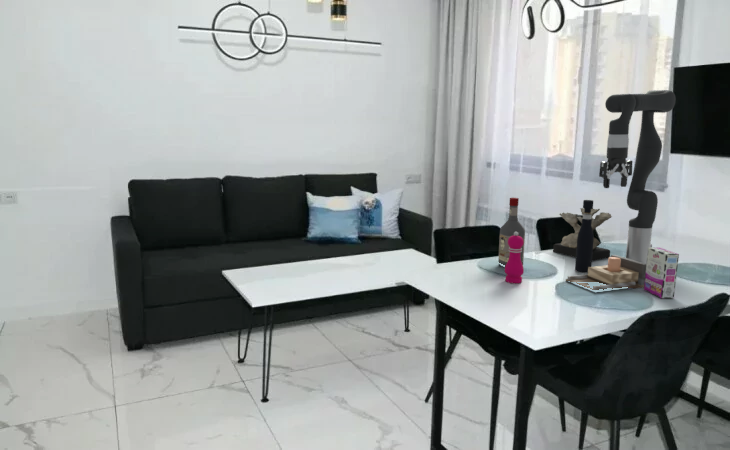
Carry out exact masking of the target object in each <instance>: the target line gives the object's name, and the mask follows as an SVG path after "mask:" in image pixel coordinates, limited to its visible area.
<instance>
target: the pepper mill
mask: <svg viewBox="0 0 730 450" xmlns="http://www.w3.org/2000/svg"><path fill="white" fill-rule="evenodd" d="M523 244H524V245H525V243H524V241H523V238H522V237H520V236H518V232H514V235H513V236H511V237H509V239H508V245H509V246H510V247H509V251H510V255H509V260H508V262H507V264H506V266H505V268H504V273H505V274H506V276H505V278H504V279H505V283H509V284H521V283H522V282H523V275H524V269H525V268H524V264H523V265H522V262H521V258H520V254H521V252H522V248H521V247H522V246H523Z"/></svg>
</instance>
